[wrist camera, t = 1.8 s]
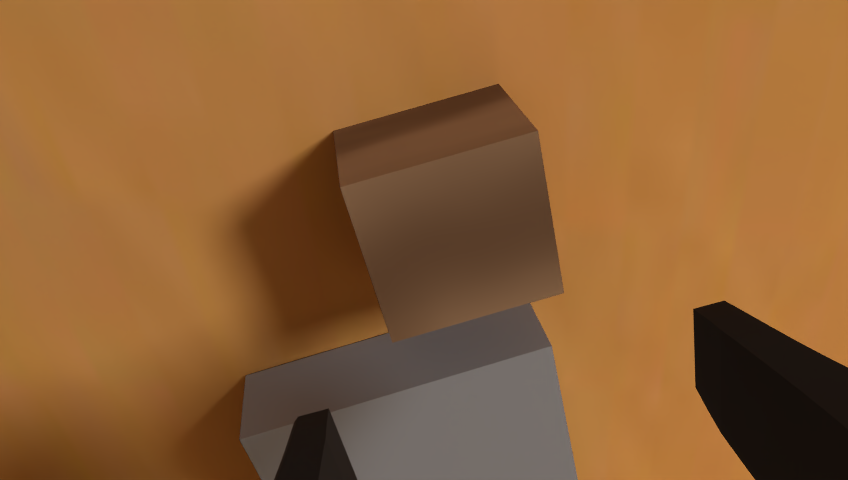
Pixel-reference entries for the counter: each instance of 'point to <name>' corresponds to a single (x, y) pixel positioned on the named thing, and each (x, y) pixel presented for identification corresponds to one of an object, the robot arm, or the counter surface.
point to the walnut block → (450, 210)
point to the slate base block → (425, 404)
